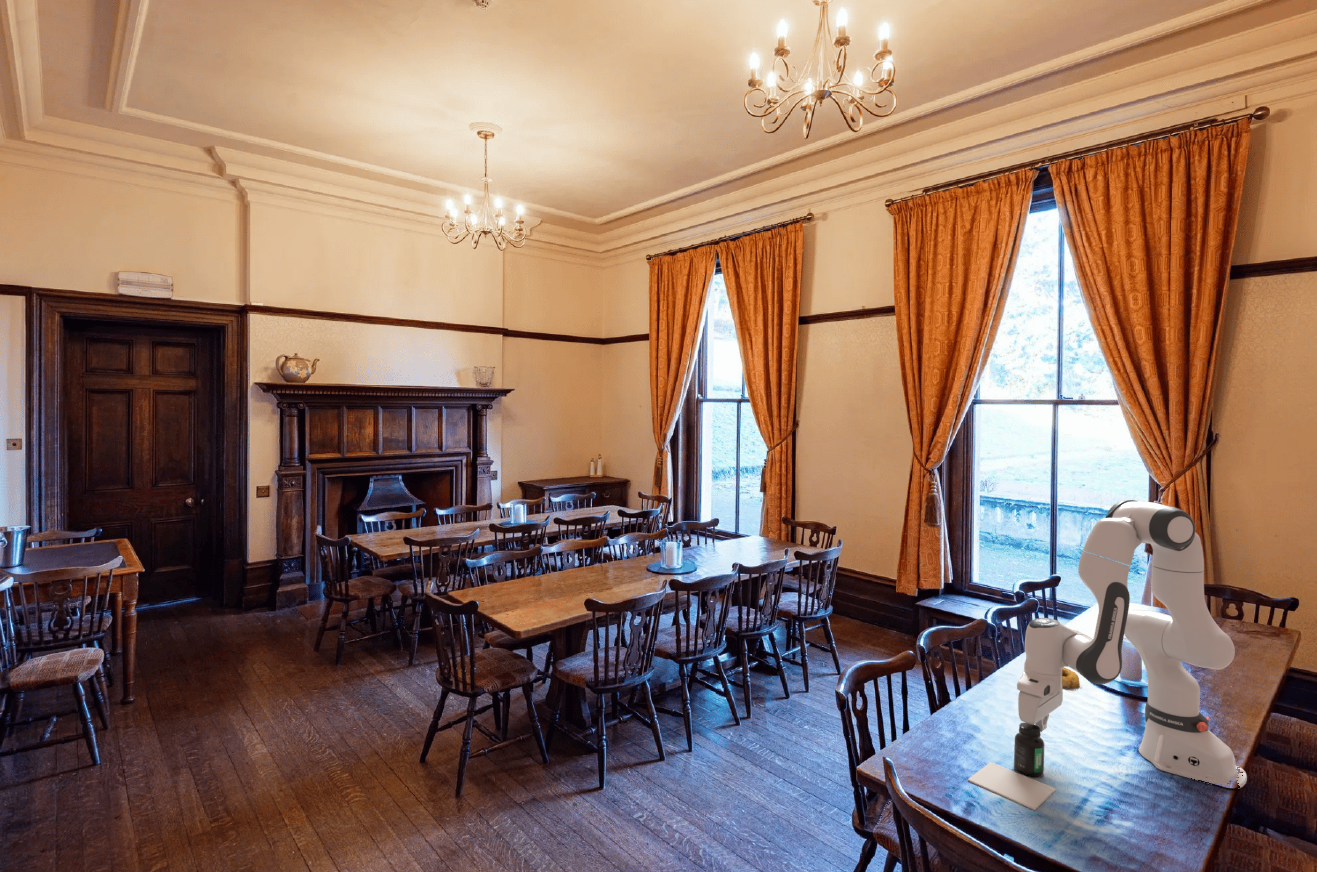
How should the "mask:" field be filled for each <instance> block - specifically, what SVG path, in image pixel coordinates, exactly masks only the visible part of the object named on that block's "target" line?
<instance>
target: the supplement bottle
mask: <svg viewBox="0 0 1317 872" xmlns="http://www.w3.org/2000/svg"><path fill="white" fill-rule="evenodd" d="M1018 727H1019V728H1018V733H1016V734H1015V735H1014V745H1013V746H1014V751H1013V753H1014V754H1013V755H1014V757H1013V767H1014V769H1015V771H1016V773H1019V774H1021V775H1024V776H1026V777H1028V778H1031V779H1033V778H1034V779H1037V778H1041V777H1043V775H1044V773H1045V772H1044V771H1045V741H1044V739H1043V738H1042V737H1041V736H1042V735H1041V732H1040V728H1039V727H1038V726H1037V725H1035V724H1034V725H1032V724H1029V723H1026V722H1020V723H1019V725H1018Z"/></svg>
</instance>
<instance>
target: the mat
mask: <svg viewBox="0 0 1317 872" xmlns="http://www.w3.org/2000/svg"><path fill="white" fill-rule="evenodd" d="M967 781H968V782H969V783H973V785H974V784H975V785H976V786H978V787H981V788H983V789H986V790H988V791H990V792H992V793H994V794H997V795H999V796H1002V797H1003V798H1005V799H1009V800H1011V801H1013V802H1014V803H1017V804H1020V805H1021V806H1025V808H1028V809H1031V810H1034V811H1036V810H1037V809H1038V808H1039V807H1040V806H1041V805H1043V803H1044V802H1046V801H1047V800H1048V799H1049V798H1050V797H1051V796H1052V795H1053V794H1054V793H1055V792H1056V791H1057V788H1055V787H1052V786H1050V785H1049V784H1048V785H1047V784H1045V783H1042V782H1041V781H1039V780H1036V779H1033V778H1032V777H1027V776H1024V775H1022V774H1020V773H1018V772H1017V771H1016V772H1015V771H1013V770H1011V769H1008V768H1006V767H1003V766H1002V765H999V764H997V763H995V762H991V761H990V762H988V763H987V764H986V765H985V766H983V767H982V768H980V769H979V770H978V771H976V772H975V773H974V774H973V775H971V776H970V777H969V778H967Z"/></svg>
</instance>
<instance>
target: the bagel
mask: <svg viewBox="0 0 1317 872" xmlns="http://www.w3.org/2000/svg"><path fill="white" fill-rule="evenodd" d="M1078 675H1079V674H1077V673H1076V671H1074V670H1073V671H1072V670H1071V669H1068V667H1063V668H1062V688H1065V689H1068V688H1078V687H1080V685H1081V683H1080V678H1079V676H1078Z"/></svg>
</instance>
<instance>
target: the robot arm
mask: <svg viewBox="0 0 1317 872" xmlns="http://www.w3.org/2000/svg"><path fill="white" fill-rule="evenodd" d="M1201 540H1202V539H1201V537H1200V535H1199V534H1198V533H1197V532H1196V525H1195V522H1194V519H1193V518H1192V516H1191V515H1190V513H1188V512H1186V511H1185V510H1182V509H1181V508H1177V507H1175V506H1168V505H1165V504H1163V503H1157V502H1151V501H1149V502H1147V501H1138V500H1136V499H1134V500H1133V499H1127V500H1120V501H1117V502H1115V503H1114V504H1113V505H1112V506H1111V507H1110V508H1109V510H1108V511H1107V514H1106V515H1105V517H1104V518H1101V519H1099V520H1097V522H1096V523H1095V525H1094V526H1093V528H1092V529H1091V531H1090V533H1089V535H1088V537H1087V540H1086V541H1085V543H1084V546H1083V549H1082V552H1081V555H1080V558H1079V561H1078V568H1077V569H1078V576H1079V578H1080V580H1081V581H1082V583H1083V584H1084V585H1085V586H1086V587H1087V588H1088V589H1089V590H1090V592H1091V593H1092V595H1093V597H1095V599H1096V602H1097V605H1098V613H1097V614H1098V615H1097V619H1096V624H1095V625H1096V626H1095V630H1094V634H1093V635H1094V636H1093V638H1091V637H1090V636H1088V635H1086V634H1084V633H1082V632H1080V631H1079V630H1075V629H1072V628H1069V627H1067V626H1065V625H1063V624H1062V623H1060V622H1059V620H1057V619H1055V618H1051V617H1049V618H1048V617H1038V618H1034V619H1032V620H1030V621H1029V623H1028V625H1027V627H1026V631H1025V638H1024V639H1025V640H1024V652H1025V660H1024V664H1023V672H1022V674H1021V677H1020V679H1019V680H1018V682H1017V684H1016V690H1018V691H1019V692H1018V698H1017V699H1018V701H1017V703H1018V707H1017V708H1018V709H1017V710H1018V718H1019V719H1020V721H1021V722H1022V723H1029V724H1032V725H1037V726H1038V727H1039V728H1040V733H1042V732H1043V731H1045V730H1046V729H1047V728H1048V720H1049V717H1050V714H1051V713H1052V712H1054V711H1055V710H1056V709H1058V708H1059V707H1060V706H1062V705H1063V699H1064V697H1063V687H1062V668H1063V667H1064V668H1070V669H1072V670H1073V671H1074V672H1077V673H1078V674H1079V675H1081V676H1082V677H1083V678H1084V679H1086V680H1087V681H1088V682H1090V683H1092V684H1095V685H1105V684H1106V685H1107V684H1109V683H1112V682H1113V681H1115V680H1117V678H1118V677H1119V676H1120V674H1121V672H1122V669H1123V652H1122V651H1123V650H1122V649H1123V643H1124V637H1125V639H1127V640H1128V642H1130V643H1131V645H1133V647H1134V648H1135V650H1136V651H1137V652H1138V655H1139V656H1140V658H1141V660H1142V662H1143V664H1144V667H1145V670H1146V676H1147V701H1145V705H1144V718H1145V719H1144V720H1145V727H1144V732H1143V738H1142V739H1141V742H1140V745H1139V748H1138V752H1139V754H1140V755H1141V757H1143V758H1144V759H1146V760H1148V761H1149V762H1151V763H1152V764H1153V765H1154V766H1155V768H1157V769H1158V770H1160V771H1162V772H1163V771H1164V772H1165V773H1169V774H1172V775H1173V774H1174V775H1176V776H1180V777H1184V778H1188V779H1191V778H1192V779H1191V780H1194V779H1195V781H1198V780H1202V781H1205V782H1209V783H1218V784H1222V785H1227V783H1230V782H1229V781H1230V780H1238V781H1237V783H1239V784H1238V785H1239V786H1240V788H1239V789H1241V788H1243V787H1244V786H1245V785H1246V784H1247V782H1248V781H1247V780H1248V775H1247V773H1246V771H1245V770H1244V769H1243V768H1242V767H1240V768H1238V769H1240V772H1243V773H1239V774H1238V773H1237V772H1238V771H1237V770H1236V769H1237V767H1239V766H1238V765H1237V764H1236V759H1235V755H1234V753H1233V750H1232V749H1231V748H1230V747H1229V746H1228V745H1227V744H1226V743H1225V742H1224V741H1222V740H1221V739H1220V738H1219V737H1217V736H1216V735H1215V734H1214V733H1213V732H1211V731H1210V730H1209V725H1210V724H1209V723H1210V717H1209V716H1206V717H1205V715H1203V714H1202V713H1201V712H1200V702H1201V701H1200V698H1201V697H1200V696H1201V687H1200V683H1199V682H1198V680H1197V679H1196V678H1195V677H1194V676H1193V675H1192V674H1190V673H1189V672H1188V670H1187V669H1186V668H1185V667H1184V665H1183V663H1186V664H1189V665H1193V666H1195V667H1200V668H1205V669H1213V670H1222V669H1225V668H1227V667H1228V666H1230V664H1232V662H1233V661H1234V658H1235V654H1236V650H1235V649H1236V648H1235V644H1234V643H1233V640H1232V639H1231V637H1230V635H1228V634H1227V633H1226V632H1224V631H1223V630H1222V629H1221V627H1220V626H1219V625H1218V624H1217V623H1216V621H1215V620H1214V619H1213V616H1212V614H1211V613H1210V611H1209V609H1208V606H1207V603H1206V598H1205V577H1204V576H1205V575H1204V574H1205V571H1204V570H1205V559H1204V551H1203V545H1202V542H1201ZM1141 544H1149V545H1150V546H1151V548H1152V557H1151V558H1152V559H1151V586H1150V587H1151V588H1150V589H1151V592H1152V595H1153V596H1154V598H1156V599H1157V600H1158V601H1159V602H1160V603H1162V605H1164V606H1165V608H1166V609H1167V611H1168V612H1169V614H1166V613H1162V612H1158V611H1156V610H1155V611H1154V610H1146V609H1134V610H1132V611H1130V612H1129V610H1130V608H1129V607H1130V602H1131V601H1130V599H1131V598H1130V597H1131V596H1130V591H1129V589H1128V587H1129V586H1128V578H1129V573H1130V569H1131V566H1132V563H1133V560H1134V559H1133V558H1134V554H1135V552H1136V551H1135V550H1136V549H1137V548H1138V547H1139V546H1140V545H1141ZM1182 662H1183V663H1182ZM1237 775H1238V776H1237ZM1242 775H1243V776H1242ZM1236 777H1239V778H1236ZM1234 778H1235V779H1234ZM1205 782H1204V783H1205ZM1209 783H1208V784H1209ZM1228 785H1229V784H1228Z"/></svg>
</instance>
